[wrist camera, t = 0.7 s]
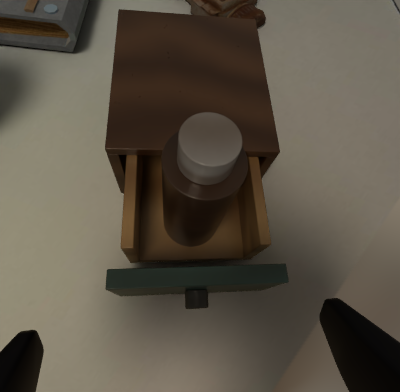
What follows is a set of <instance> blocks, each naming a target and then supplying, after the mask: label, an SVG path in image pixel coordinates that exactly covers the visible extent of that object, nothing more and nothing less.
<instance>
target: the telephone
mask: <svg viewBox="0 0 400 392" xmlns="http://www.w3.org/2000/svg"><path fill="white" fill-rule="evenodd" d="M186 1H187V2H189V3H190V4H191V13H192V14H193V15H201V16H214V17H228V18H241V19H255V20H256V25H257V28H258V27H259V26H261V25H263V24H264V23H265V20H266V17H265V15H264V12H263V11H262V10H260V9H257V8H256V7H255V6H254V4H256V3H257V0H186Z"/></svg>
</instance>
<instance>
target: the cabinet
mask: <svg viewBox="0 0 400 392" xmlns="http://www.w3.org/2000/svg"><path fill="white" fill-rule="evenodd" d="M203 112H213V113H218V114H221V115H223V116H225V117H227V118H229V119H230V120H231V121H233V122H234V123H235V124H236V126H237V127H238V129H239V130H240V133H241V135H242V146H243V148H244V150H245V153H246V155H247V157H258V159H259V166H260V172H261V179H262V177H263V176H264V174H265V173H266V171H267V170H268V168H269V167H270V165H271V164H272V163H273V161H274V160H275V158H276V157H277V155H278V154H279V153H280V149H279V143H278V138H277V133H276V127H275V122H274V116H273V111H272V106H271V100H270V95H269V90H268V84H267V79H266V74H265V68H264V63H263V57H262V52H261V47H260V41H259V36H258V31H257V25H256V20H255V19H241V18H228V17H214V16H201V15H188V14H174V13H161V12H147V11H134V10H120V9H119V12H118V22H117V32H116V42H115V53H114V63H113V73H112V83H111V93H110V103H109V113H108V124H107V134H106V144H105V150H106V152H107V155H108V158H109V161H110V164H111V166H112V169H113V172H114V174H115V177H116V180H117V183H118V185H119V188H120V191H121V193H124V188H125V172H126V156H127V155H162V152H163V149H164V146H165V144H166V143H167V141H168V140H169V139H170V137H171V136H172V135H174V134H175V133H176V132H178V131H179V130H180V127H181V126H182V124H183V123H184V122H185V121H186V120H187V119H188V118H189V117H191V116H193V115H195V114H198V113H203Z"/></svg>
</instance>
